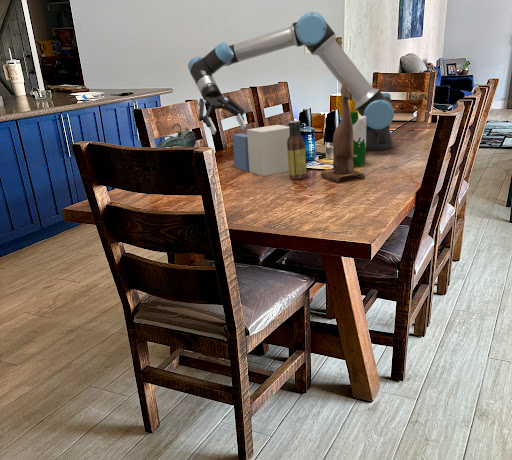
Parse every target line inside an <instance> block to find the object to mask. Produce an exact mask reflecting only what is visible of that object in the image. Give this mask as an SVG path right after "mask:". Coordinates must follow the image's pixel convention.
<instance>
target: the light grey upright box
mask: <svg viewBox="0 0 512 460" xmlns="http://www.w3.org/2000/svg"><path fill="white" fill-rule="evenodd" d="M289 133H290V131H289V125H288V126H287V125H282V124H275V125H274V124H273V125H268V126H261V127H254V128H248V129H246V134H247V139H248V154H249V170H250V171H249V173H253V174H255V175H258V176H262V177H268V176H271V175H272V176H273V175H277V174H282V173H286V172H289V167H288V153H287V140H288V138H289V136H290V134H289Z"/></svg>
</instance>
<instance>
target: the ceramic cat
mask: <svg viewBox="0 0 512 460" xmlns="http://www.w3.org/2000/svg"><path fill="white" fill-rule="evenodd" d="M176 126H178V127H179V129H180V130H175V132H176V133H177V134H176V136H173V135H165V136H163V137H161V138H160V139H159V140H158V143H157V147H162V148H164V147H173V146H182V147H194V148H195V145H196V142H197V136H196V133H195V132H194V131H192V130H190V129H189V128H188V127H187V126H185V129H184V130H182V127H181V125H180V124H178V123H176V124H173V126H172V129H173V130H174V129H175V127H176ZM165 138H166V139H165Z"/></svg>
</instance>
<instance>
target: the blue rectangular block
mask: <svg viewBox="0 0 512 460" xmlns="http://www.w3.org/2000/svg"><path fill="white" fill-rule="evenodd" d="M232 147H233V159H234V168H236V169H238V170H242V171H245V172H250V170H249V154H248V139H247V133H235V134H234V133H233V134H232Z"/></svg>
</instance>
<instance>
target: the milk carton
mask: <svg viewBox="0 0 512 460" xmlns="http://www.w3.org/2000/svg"><path fill="white" fill-rule="evenodd" d="M350 113H351V120H352V126H353V145H354V146H353V151H354V154H353V164H354V168H361V167H362V166H363V165H365V164H366V163H365V162H366V152H367V150H366V116H361V115H359V113H358V111H350Z"/></svg>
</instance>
